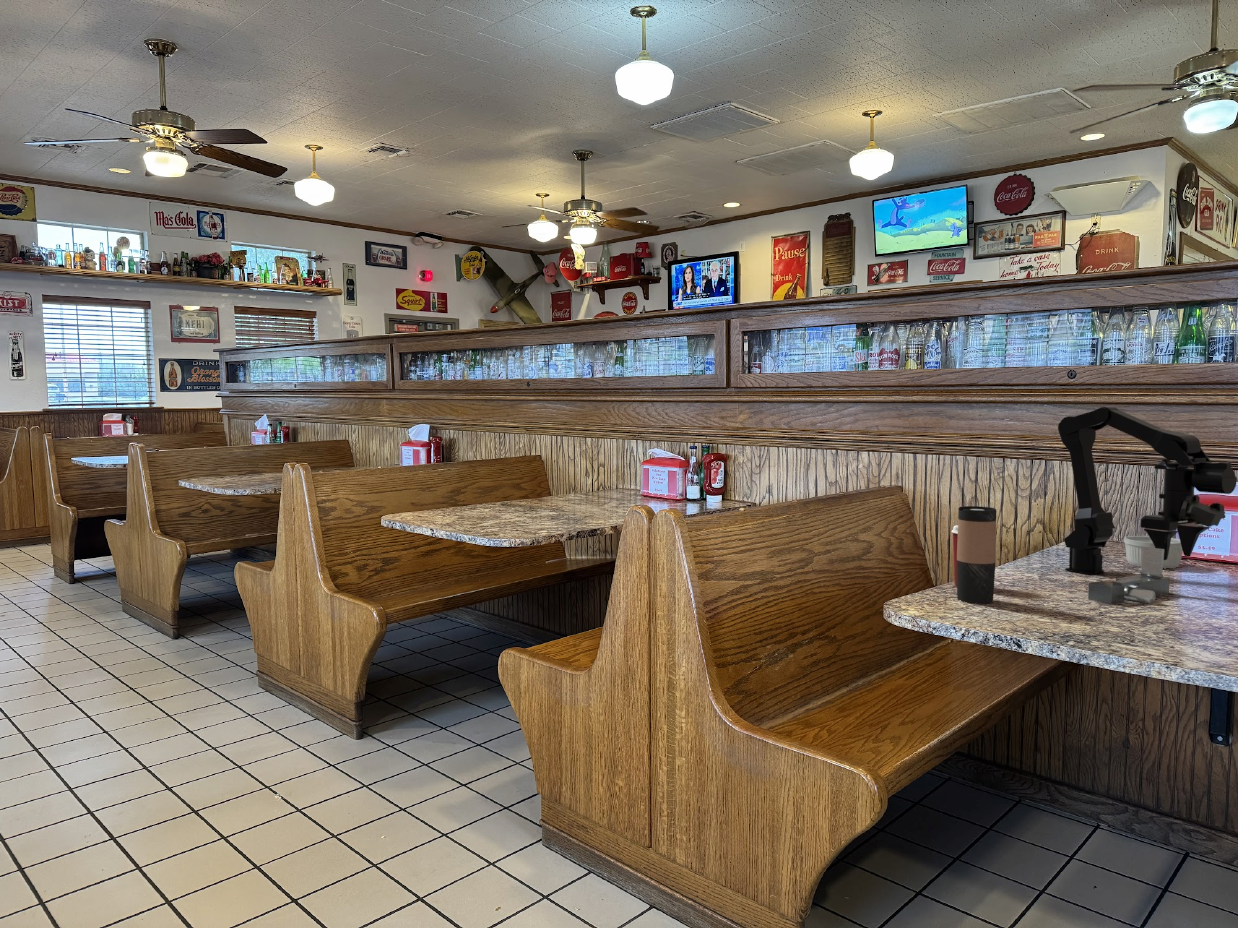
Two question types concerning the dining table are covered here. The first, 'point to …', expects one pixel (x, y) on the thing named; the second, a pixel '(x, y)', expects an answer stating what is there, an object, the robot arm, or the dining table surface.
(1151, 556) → the keeper flap
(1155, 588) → the hitch bar
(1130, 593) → the pin
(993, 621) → the dining table surface
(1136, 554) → the ramekin
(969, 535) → the travel mug
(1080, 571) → the robot arm
